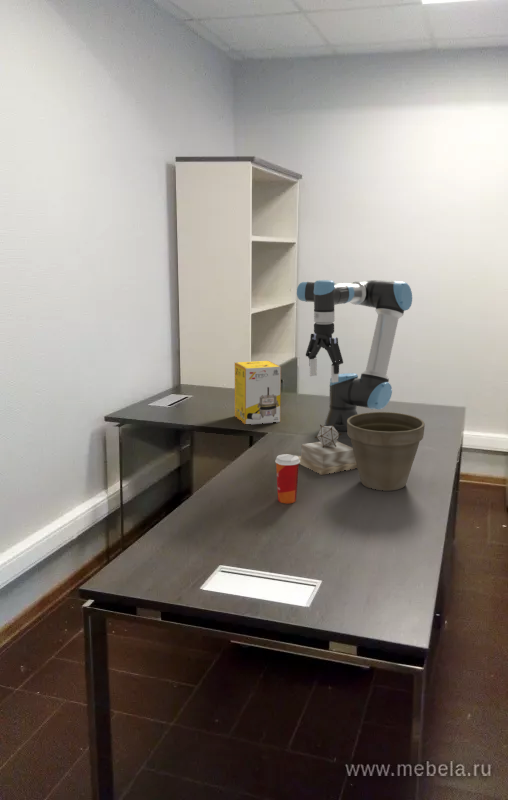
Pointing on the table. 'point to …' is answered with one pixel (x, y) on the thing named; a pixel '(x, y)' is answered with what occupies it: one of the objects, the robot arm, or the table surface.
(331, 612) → the table surface
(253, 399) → the packaging box
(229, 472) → the table surface
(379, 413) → the plant pot
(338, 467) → the tower base
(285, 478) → the paper cup
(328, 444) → the wireframe icosahedron
